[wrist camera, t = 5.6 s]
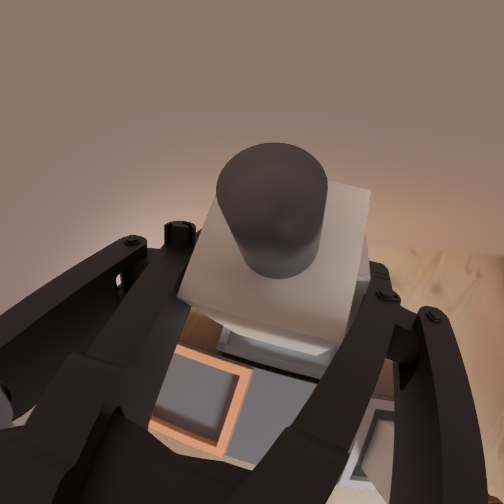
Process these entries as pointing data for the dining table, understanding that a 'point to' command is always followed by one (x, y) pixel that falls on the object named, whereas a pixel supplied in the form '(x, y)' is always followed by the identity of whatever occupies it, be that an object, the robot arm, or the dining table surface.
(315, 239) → the bottle
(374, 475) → the twin plug
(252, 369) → the grey base
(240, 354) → the tray
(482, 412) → the dining table surface
